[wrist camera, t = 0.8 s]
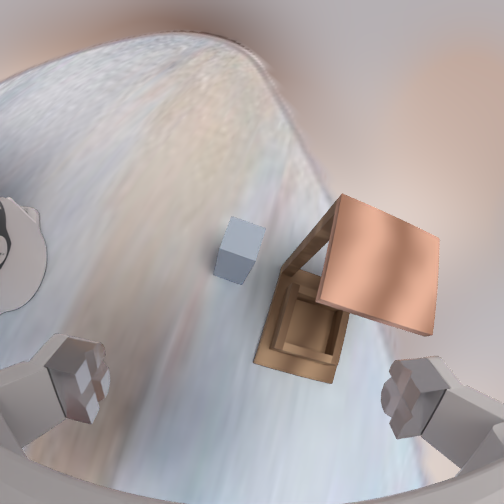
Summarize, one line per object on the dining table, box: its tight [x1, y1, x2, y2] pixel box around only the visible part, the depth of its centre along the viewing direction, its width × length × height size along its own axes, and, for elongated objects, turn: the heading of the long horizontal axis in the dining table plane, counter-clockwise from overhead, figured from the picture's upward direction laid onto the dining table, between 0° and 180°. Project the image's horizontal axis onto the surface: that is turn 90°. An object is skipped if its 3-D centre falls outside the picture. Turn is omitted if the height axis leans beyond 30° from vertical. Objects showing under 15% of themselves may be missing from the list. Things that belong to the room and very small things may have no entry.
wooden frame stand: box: [253, 194, 439, 384], centre depth 33 cm, size 11×14×20 cm
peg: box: [214, 216, 266, 285], centre depth 39 cm, size 4×4×10 cm
